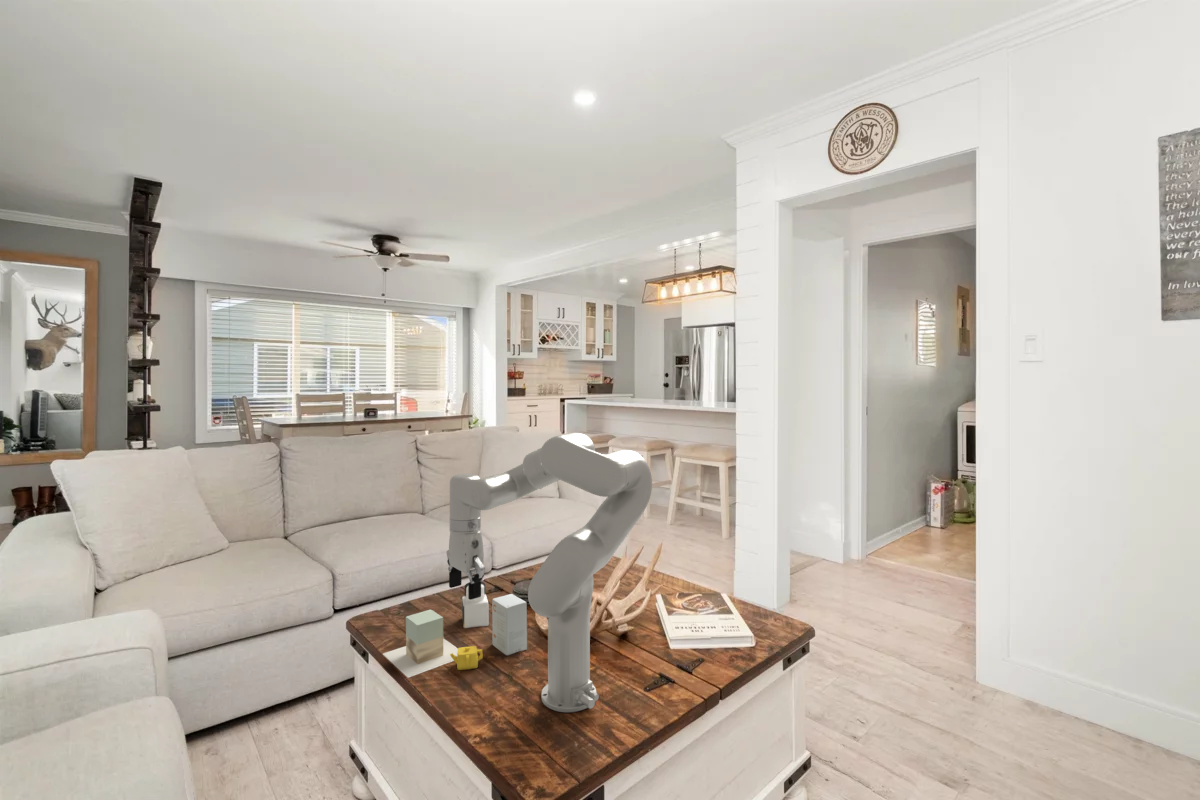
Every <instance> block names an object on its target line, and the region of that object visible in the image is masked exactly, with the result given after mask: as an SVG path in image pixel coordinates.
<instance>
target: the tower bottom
mask: <svg viewBox="0 0 1200 800" xmlns="http://www.w3.org/2000/svg"><path fill="white" fill-rule="evenodd" d="M443 638H444V636H443V637H440V638H437V639H434V640H431V641H428V642H425V643H422V644H419V645H417V644H416V643H415V642H413V641H412V640H411V639H410V638H408V637H407V636H406V635H405V646H406V654H407V655H408V656H409V657H410V658H411V659H412V660H413V661H415V662H416V663H417V664H420V663H423V662H426V661H428V660H431V659H434V658H437V657H440V656H442V655H443Z"/></svg>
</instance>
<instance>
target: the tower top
mask: <svg viewBox="0 0 1200 800" xmlns="http://www.w3.org/2000/svg"><path fill="white" fill-rule="evenodd" d="M406 636H407V637H408V638H410V639H411V640H412V641H413V642H415V643H416V644H417V645H419V644H422V643H425V642H428V641H431V640H434V639H437V638H440V637H443V638H444V617H443V616H441V615H440V614H438V613H437V612H435V610H432V609H427V610H424V611H419V612H417V613H413V614H410V615H407V616H405V637H406Z"/></svg>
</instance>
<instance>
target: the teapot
mask: <svg viewBox="0 0 1200 800" xmlns="http://www.w3.org/2000/svg"><path fill="white" fill-rule="evenodd" d="M478 653H479V655H478ZM483 654H484V652H483V648H477V646H476V645H471V646H470V645H469V646H463V647H462V646H461V647H458V653H457V656H455V655H454V654H453V653H452V654H450V656H451V657H452V658H453V660H454V661H453V662H454V663H455V664H456V667H457V668H456V670H457V671H465V670H472V669H477V668H478V667H479V666H478V665H479V661H480V660H482V659H483V658H484V655H483Z"/></svg>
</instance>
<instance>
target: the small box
mask: <svg viewBox="0 0 1200 800" xmlns="http://www.w3.org/2000/svg"><path fill="white" fill-rule="evenodd" d="M491 601H492V605H491V606H492V607H491V608H492V609H491V611H492V619H491V620H492V623H491V624H492V638H491V641H492V643H491V644H492V646H494V647H495V648H496V649H497V650H499V651H500V652H501V653H502V654H504V655H505V656H510V655H513V654H515V653H517V652H520V651H521V652H524V651H525V650H528V628H527V627H528V621H527V619H528V617H527V616H528V615H527V610H528V609H527V608H528V607H527V606H528V605H527V604H528V603H527V601H525V600H524V599H522V598H520V597H518V596H516V595H515V594H513V593H509V594H506V595H502V596H498V597H494V598H492V600H491Z"/></svg>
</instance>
